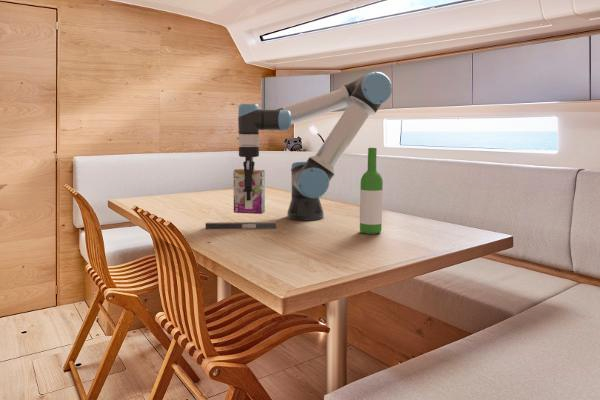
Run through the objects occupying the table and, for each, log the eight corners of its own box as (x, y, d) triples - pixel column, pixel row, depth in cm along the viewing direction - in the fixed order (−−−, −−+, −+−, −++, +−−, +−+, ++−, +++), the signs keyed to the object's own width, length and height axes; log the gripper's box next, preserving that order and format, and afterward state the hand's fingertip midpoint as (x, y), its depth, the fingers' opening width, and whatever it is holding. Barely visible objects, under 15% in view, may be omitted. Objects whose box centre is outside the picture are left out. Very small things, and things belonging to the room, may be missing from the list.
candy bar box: (233, 213, 176) (232, 169, 174) (237, 211, 181) (236, 168, 179) (261, 214, 174) (261, 170, 172) (265, 212, 179) (265, 169, 177)
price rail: (276, 227, 175) (276, 222, 175) (276, 228, 173) (276, 223, 172) (206, 227, 174) (206, 222, 174) (205, 229, 172) (205, 223, 171)
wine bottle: (368, 235, 161) (369, 148, 156) (355, 231, 168) (356, 147, 163) (386, 233, 165) (388, 148, 160) (372, 229, 171) (374, 147, 167)
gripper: (240, 145, 183) (241, 203, 186) (236, 146, 164) (237, 211, 168) (260, 145, 183) (260, 203, 187) (257, 147, 165) (258, 211, 168)
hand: (249, 207), depth 177 cm, fingers closed on candy bar box, 6 cm apart
